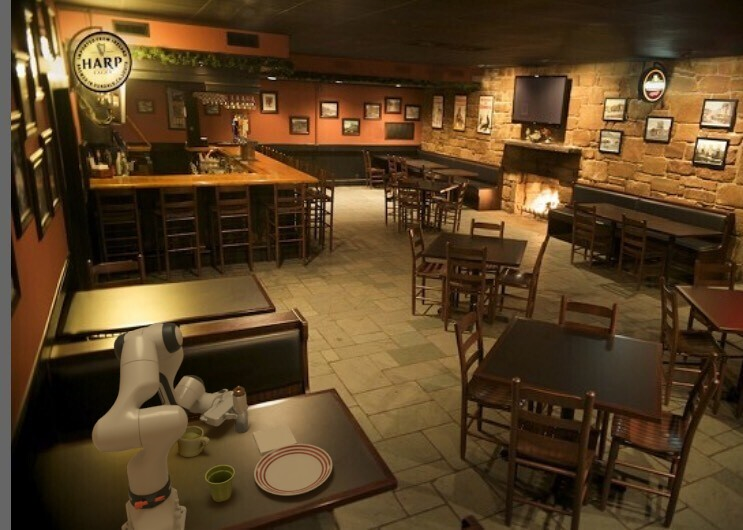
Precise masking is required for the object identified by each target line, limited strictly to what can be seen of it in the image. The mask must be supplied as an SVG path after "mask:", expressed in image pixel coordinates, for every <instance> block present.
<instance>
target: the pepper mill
mask: <svg viewBox="0 0 743 530" xmlns="http://www.w3.org/2000/svg"><path fill="white" fill-rule="evenodd" d="M245 390H246V389H245V387H243V386H240V385H237V386H236V387H234V388H233V389H232V391H233V394H232V396H233V409H234V412H233V414H234V413H238V414H239V417H238V418H237V419H234V430H235V432H236V433H238V434H241V433H245V432H247V431H249V419H248V418H249V417H248V409H247V405H248V404H247V392H246V391H245Z"/></svg>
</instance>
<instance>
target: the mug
mask: <svg viewBox="0 0 743 530" xmlns="http://www.w3.org/2000/svg"><path fill="white" fill-rule="evenodd" d="M204 432H205V431H204V429H203V428H202V427H200V426H199V425H198V426H197V425H189V426H188V425H187V429H186V431H185V433H184V434H183V436H182V437H181V438H179V439H178V440H177V444H178V445H177V447H178V453H179V455H180V456H182V457H184V458H192V457H196V456H198V455H200V454H201V453H202V452H203V450H204V448H205V447H206V446H207V445H208V444H209V443H210V442H211V441H210V439H209V437H207V436H205V433H204Z"/></svg>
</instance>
